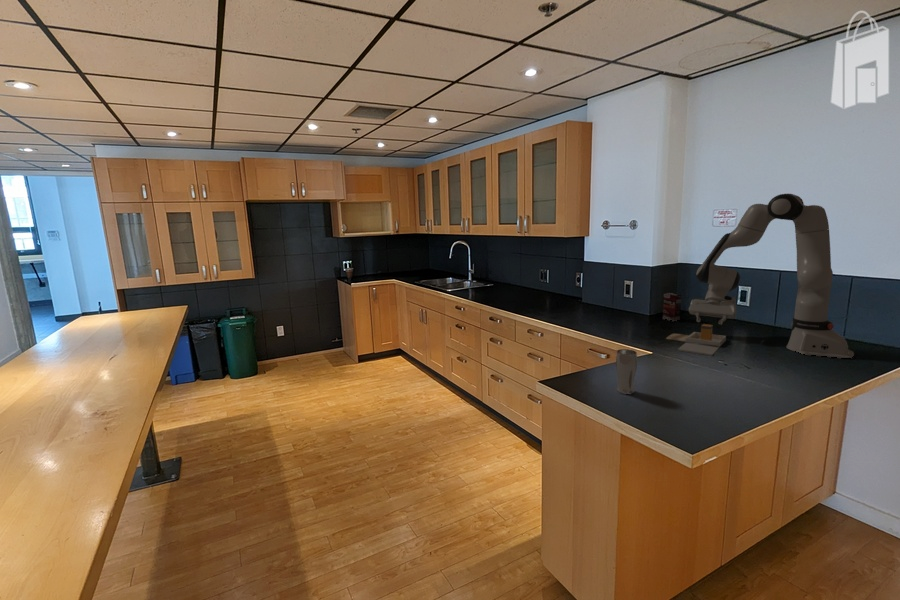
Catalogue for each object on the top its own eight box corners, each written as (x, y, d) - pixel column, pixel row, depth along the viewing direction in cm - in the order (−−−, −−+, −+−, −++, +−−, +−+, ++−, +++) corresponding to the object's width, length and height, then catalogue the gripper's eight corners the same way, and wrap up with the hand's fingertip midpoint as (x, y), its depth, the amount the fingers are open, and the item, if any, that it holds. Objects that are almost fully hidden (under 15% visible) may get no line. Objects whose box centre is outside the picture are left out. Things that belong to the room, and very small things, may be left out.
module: (711, 340, 205) (712, 325, 203) (709, 342, 202) (710, 326, 200) (702, 339, 207) (703, 323, 206) (700, 341, 204) (701, 325, 203)
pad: (691, 337, 214) (692, 335, 214) (685, 343, 205) (685, 341, 205) (672, 335, 220) (672, 333, 220) (665, 340, 212) (665, 338, 211)
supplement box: (661, 319, 254) (663, 293, 251) (667, 318, 256) (668, 292, 253) (674, 321, 247) (676, 295, 244) (680, 320, 249) (681, 294, 246)
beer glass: (618, 386, 157) (619, 347, 155) (638, 390, 153) (639, 350, 150) (612, 392, 152) (613, 352, 149) (632, 396, 148) (633, 356, 145)
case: (725, 341, 205) (726, 335, 204) (712, 356, 185) (712, 349, 185) (693, 337, 214) (693, 331, 214) (677, 350, 195) (678, 344, 194)
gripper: (691, 294, 217) (684, 316, 211) (738, 298, 203) (732, 321, 197) (693, 301, 220) (686, 323, 215) (739, 305, 207) (733, 329, 201)
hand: (708, 322), depth 206 cm, fingers open, 8 cm apart
